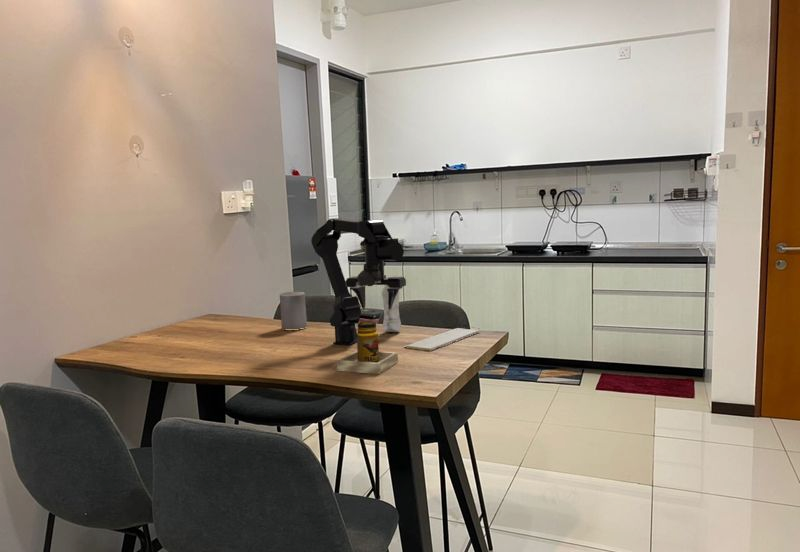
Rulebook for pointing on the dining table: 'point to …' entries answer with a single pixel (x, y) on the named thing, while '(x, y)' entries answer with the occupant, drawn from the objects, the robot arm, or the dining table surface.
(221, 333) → the dining table surface
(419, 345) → the baseboard molding
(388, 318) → the plastic bottle
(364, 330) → the condiment
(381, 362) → the caddy
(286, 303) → the pillar candle
